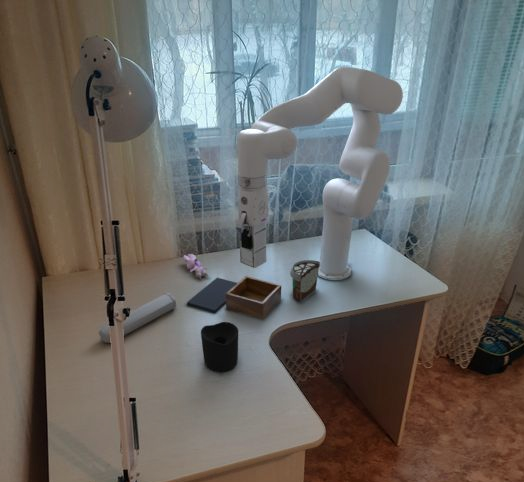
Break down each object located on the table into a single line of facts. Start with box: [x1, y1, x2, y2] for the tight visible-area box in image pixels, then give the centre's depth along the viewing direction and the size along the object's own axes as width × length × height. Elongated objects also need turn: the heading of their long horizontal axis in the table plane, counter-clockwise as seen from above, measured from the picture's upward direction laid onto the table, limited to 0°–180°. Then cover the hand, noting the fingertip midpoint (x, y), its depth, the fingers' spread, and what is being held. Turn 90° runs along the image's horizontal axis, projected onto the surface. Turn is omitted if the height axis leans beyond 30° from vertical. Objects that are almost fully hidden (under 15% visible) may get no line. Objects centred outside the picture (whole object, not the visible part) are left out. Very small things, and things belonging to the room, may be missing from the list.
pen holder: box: [200, 321, 239, 373], centre depth 127 cm, size 9×9×10 cm
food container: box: [289, 259, 320, 304], centre depth 157 cm, size 12×6×10 cm, turn 145°
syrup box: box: [239, 215, 267, 269], centre depth 142 cm, size 6×6×14 cm
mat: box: [186, 277, 238, 314], centre depth 158 cm, size 18×10×1 cm, turn 153°
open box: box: [225, 275, 282, 320], centre depth 152 cm, size 13×13×5 cm
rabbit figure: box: [182, 253, 209, 281], centre depth 169 cm, size 6×6×15 cm
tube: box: [98, 291, 177, 344], centre depth 142 cm, size 5×5×25 cm
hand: (253, 242), depth 142 cm, fingers closed on syrup box, 6 cm apart
